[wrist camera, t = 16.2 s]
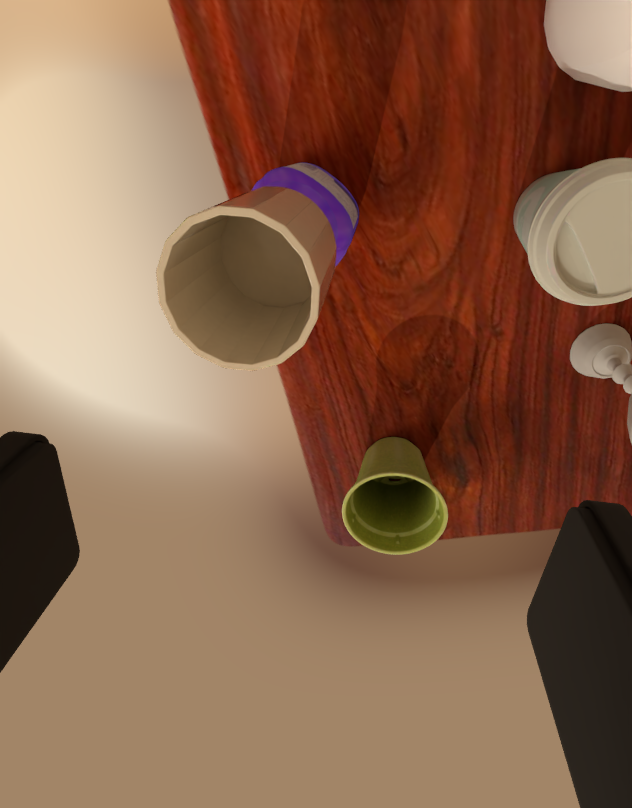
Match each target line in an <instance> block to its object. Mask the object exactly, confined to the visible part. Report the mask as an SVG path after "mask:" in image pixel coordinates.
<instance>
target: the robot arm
mask: <svg viewBox="0 0 632 808" xmlns="http://www.w3.org/2000/svg"><path fill="white" fill-rule="evenodd" d="M79 552H80V550H79V545H78V540H77V536H76V531H75V527H74V523H73V519H72V514H71V510H70V506H69V502H68V497H67V493H66V489H65V485H64V480H63V476H62V472H61V467H60V463H59V459H58V455H57V451H56V448H55V447H54V445H52V444H49V441H48V439H47V438H46V437H45V436H43V435H40V434H31V433H23V432H15V431H13V432H8V433H6V434H4V435H3V436H1V437H0V672H1V671H2V670H3V668H4V667H5V665H6V664H7V662H8V661H9V659H10V658H11V657H12V655H13V654H14V653H15V651H16V650H17V648H18V647H19V646H20V644H21V643H22V641H23V640H24V638H25V637H26V636H27V634H28V633H29V631H30V630H31V629H32V627H33V626H34V624H35V623H36V622H37V620H38V619H39V617H40V616H41V615H42V613H43V612H44V610H45V609H46V607H47V606H48V605H49V603H50V602H51V600H52V599H53V598H54V596H55V595H56V593H57V592H58V591H59V589H60V588H61V586H62V585H63V583H64V582H65V581H66V579H67V578H68V576H69V575H70V574H71V572H72V571H73V569H74V568H75V566H76V564H77V561H78V558H79ZM527 627H528V632H529V636H530V639H531V642H532V645H533V649H534V653H535V656H536V659H537V663H538V666H539V669H540V672H541V676H542V680H543V683H544V686H545V690H546V693H547V696H548V700H549V703H550V707H551V710H552V713H553V717H554V720H555V724H556V726H557V730H558V733H559V737H560V740H561V744H562V747H563V751H564V754H565V757H566V761H567V764H568V767H569V771H570V774H571V777H572V781H573V784H574V788H575V791H576V795H577V798H578V801H579V805H580V808H632V516H631V515H630V513H629V512H628V510H627V509H626V508H625V507H624V506H623V505H620V504H615V503H607V502H598V501H590V500H586V501H583V502H582V503H581V504H580V505H579V507H578V508H577V507H572V508H571V509H569V511H568V513H567V515H566V517H565V520H564V522H563V525H562V527H561V530H560V532H559V535H558V537H557V540H556V542H555V545H554V547H553V550H552V552H551V555H550V557H549V560H548V562H547V565H546V567H545V569H544V572H543V574H542V577H541V579H540V582H539V584H538V587H537V589H536V592H535V594H534V597H533V599H532V602H531V604H530V607H529V609H528V614H527Z"/></svg>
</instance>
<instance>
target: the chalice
mask: <svg viewBox="0 0 632 808" xmlns="http://www.w3.org/2000/svg"><path fill="white" fill-rule="evenodd" d="M631 359H632V341H631V338H630V335H629V334H628V332H627V331H626V330H625V329H624V328H622V327H620V326H618V325H616V324H608V323H605V324H599V325H595V326H593V327H591V328H588V329H586V330H585V331H584V332H583V333H581V334H580V335H579V336H578V337H577V339H576V340H575V341H574V343H573V345H572V348H571V350H570V360H571V363H572V366H573V367H574V368H575V369H576V370H577V371H578V372H579V373H581V374H583V375H585V376H591V377H597V378H611V377H612V378H613V380H614V381H615V382H616V383H618V384H624V385H623V388H624V390H625V391H626V392H627V393H629V394H631V396H630V398H629V408H628V421H627V424H628V430H629V436H630V440H631V443H632V365H631V364H630V361H631Z"/></svg>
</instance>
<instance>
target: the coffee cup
mask: <svg viewBox="0 0 632 808" xmlns="http://www.w3.org/2000/svg"><path fill="white" fill-rule="evenodd" d="M514 228H515V231H516V234H517V236H518V237H519V239H520V241H521V243H522V245H523V247H524V248H525V250H526V252H527V254H528V259H529V264H530V267H531V270H532V273H533V275H534V277H535V278H536V280H537V281H538V283H539V284H540V285H541V286H542V287H543V288H544V289H545V290H546V291H547V292H548V293H550V294H551V295H553V296H554V297H556V298H558V299H560V300H563V301H566V302H569V303H572V304H577V305H585V306H595V305H604V304H611V303H616V302H620V301H623V300H626V299H629V298H631V297H632V158H612V159H606V160H602V161H598V162H595V163H592V164H590V165H587V166H585V167H583V168H580V169H574V170H568V171H562V172H557V173H552V174H548V175H545V176H543V177H541V178H539V179H537V180H536V181H534V182H533V183H532V184H531V185H529V186H528V187H527V188H526V190H525V191H524V192H523V193H522V195H521V196H520V198H519V200H518V202H517V204H516V207H515V211H514Z"/></svg>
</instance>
